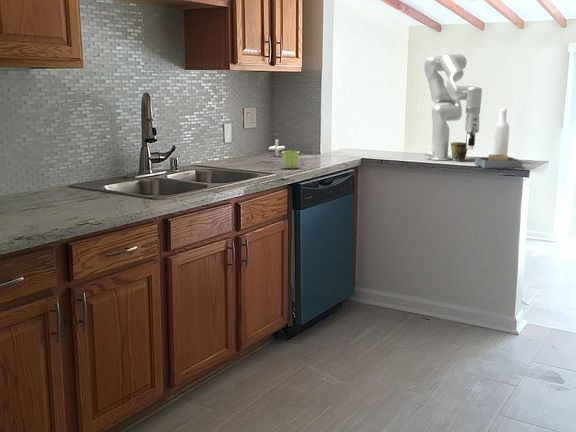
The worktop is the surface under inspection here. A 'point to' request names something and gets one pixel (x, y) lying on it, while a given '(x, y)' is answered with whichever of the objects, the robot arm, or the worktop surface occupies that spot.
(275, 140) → the pipe connector
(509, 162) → the box
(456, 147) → the ceramic cup
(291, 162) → the plant pot
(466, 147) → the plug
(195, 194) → the worktop surface
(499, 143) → the bottle
